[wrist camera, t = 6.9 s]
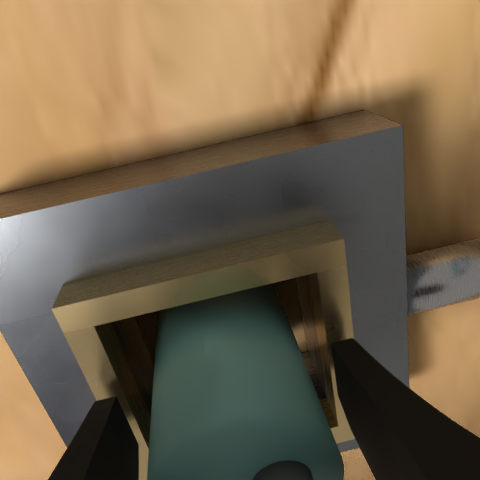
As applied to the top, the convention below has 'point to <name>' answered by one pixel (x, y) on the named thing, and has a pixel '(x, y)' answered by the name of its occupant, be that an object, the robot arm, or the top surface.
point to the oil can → (235, 395)
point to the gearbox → (219, 260)
